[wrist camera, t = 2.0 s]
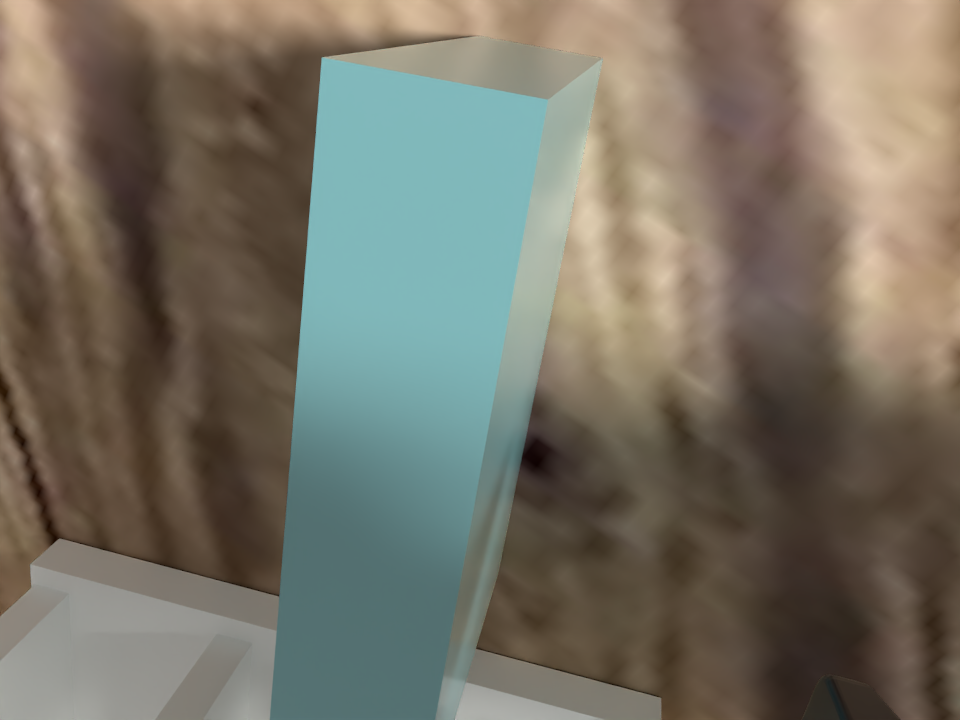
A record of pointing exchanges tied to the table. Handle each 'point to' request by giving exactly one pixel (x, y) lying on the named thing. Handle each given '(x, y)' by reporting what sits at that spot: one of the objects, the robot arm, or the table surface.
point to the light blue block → (419, 361)
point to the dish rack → (210, 652)
